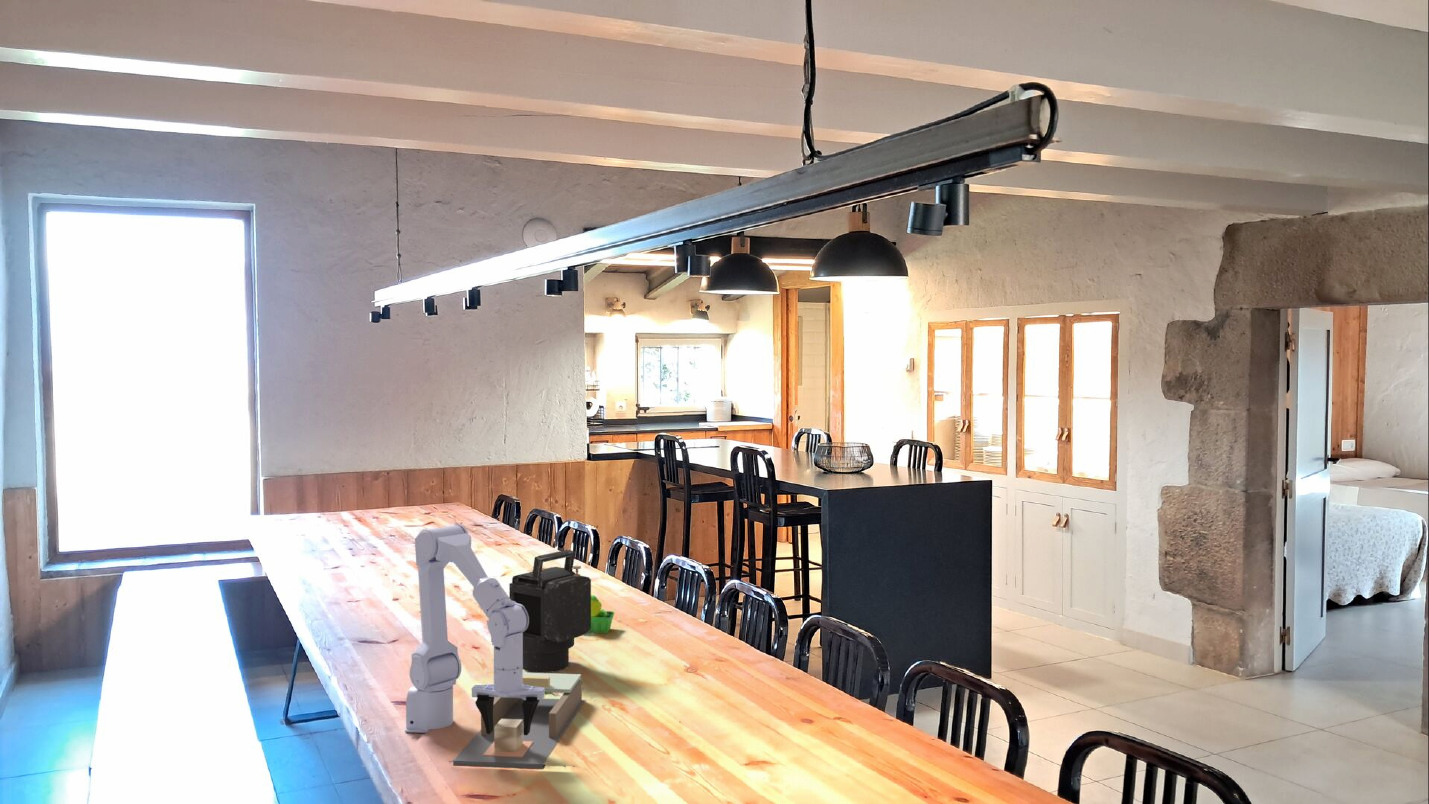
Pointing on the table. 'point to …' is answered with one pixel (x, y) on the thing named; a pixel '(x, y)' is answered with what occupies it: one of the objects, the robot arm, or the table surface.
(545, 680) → the lid
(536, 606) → the lantern
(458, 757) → the board
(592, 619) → the fruit basket
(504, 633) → the robot arm
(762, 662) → the table surface
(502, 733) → the block
